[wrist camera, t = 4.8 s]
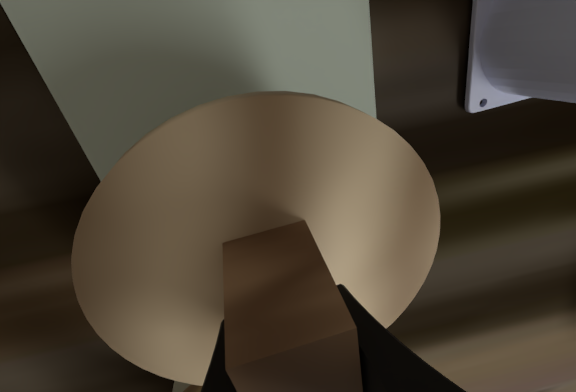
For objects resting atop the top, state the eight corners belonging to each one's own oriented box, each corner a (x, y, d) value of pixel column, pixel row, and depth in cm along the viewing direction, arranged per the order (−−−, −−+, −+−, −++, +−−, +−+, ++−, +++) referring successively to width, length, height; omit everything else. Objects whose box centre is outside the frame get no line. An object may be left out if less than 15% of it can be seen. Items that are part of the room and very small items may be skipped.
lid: (437, 47, 9) (655, 57, 5) (417, 318, 17) (498, 431, 12) (-17, 152, 8) (-335, 308, 3) (172, 398, 15) (151, 560, 11)
